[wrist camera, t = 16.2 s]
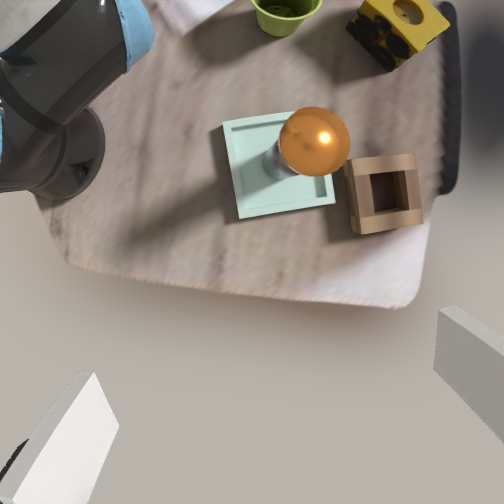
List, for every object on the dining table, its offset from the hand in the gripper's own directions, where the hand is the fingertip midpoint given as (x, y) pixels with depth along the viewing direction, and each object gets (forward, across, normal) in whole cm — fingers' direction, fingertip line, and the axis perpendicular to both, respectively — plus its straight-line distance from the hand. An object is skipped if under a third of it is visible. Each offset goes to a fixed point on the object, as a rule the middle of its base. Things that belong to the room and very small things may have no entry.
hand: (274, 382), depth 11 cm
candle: (+35, +27, +28) cm, 52 cm away
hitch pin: (+34, +6, +9) cm, 35 cm away
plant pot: (+35, +10, +31) cm, 48 cm away
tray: (+35, +6, +9) cm, 36 cm away
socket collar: (+35, +20, +3) cm, 40 cm away
